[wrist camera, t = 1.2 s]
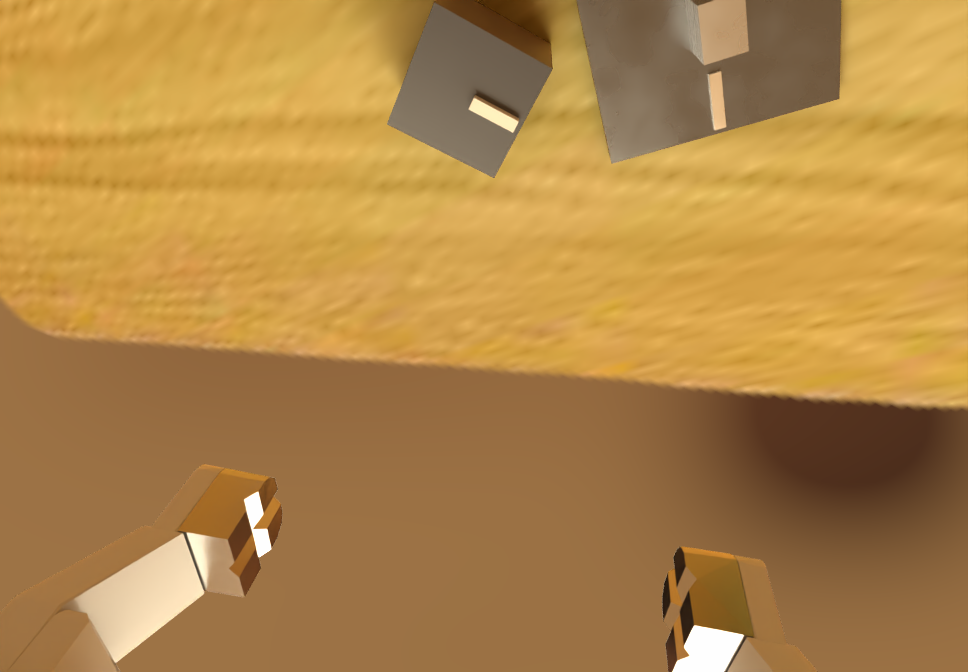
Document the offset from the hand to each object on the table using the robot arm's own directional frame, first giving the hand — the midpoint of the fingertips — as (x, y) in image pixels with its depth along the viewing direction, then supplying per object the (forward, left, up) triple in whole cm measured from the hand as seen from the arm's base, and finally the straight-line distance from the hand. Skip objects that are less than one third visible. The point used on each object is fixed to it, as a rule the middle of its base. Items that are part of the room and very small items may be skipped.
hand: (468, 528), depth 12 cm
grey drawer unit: (-3, -1, -28) cm, 28 cm away
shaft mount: (-2, +11, -28) cm, 30 cm away
